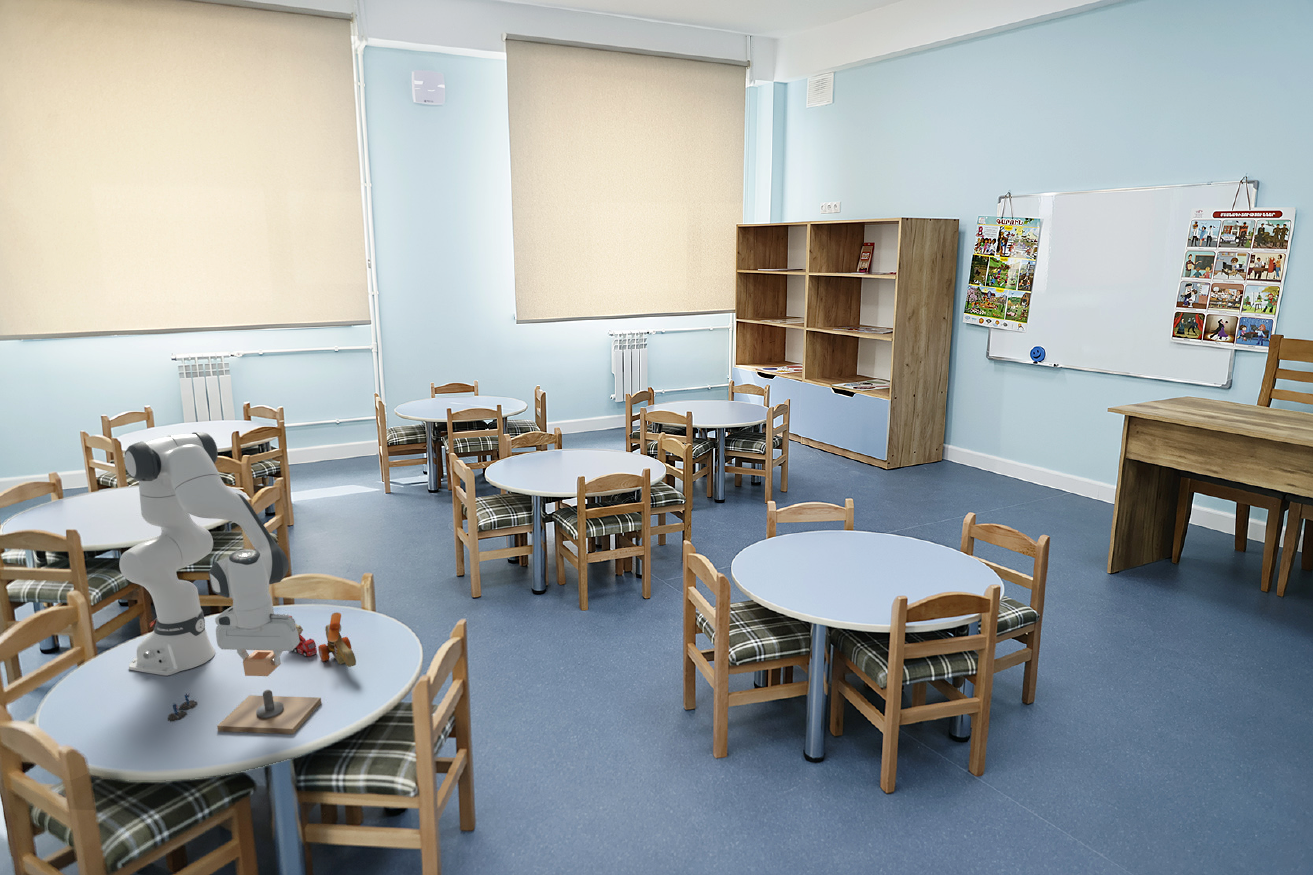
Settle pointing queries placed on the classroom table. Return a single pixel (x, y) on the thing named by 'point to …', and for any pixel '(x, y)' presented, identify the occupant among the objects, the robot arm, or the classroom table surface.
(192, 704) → the figurines
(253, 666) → the square frame block
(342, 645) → the toy helicopter
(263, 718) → the stand
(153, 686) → the classroom table surface
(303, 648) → the toy fire truck
